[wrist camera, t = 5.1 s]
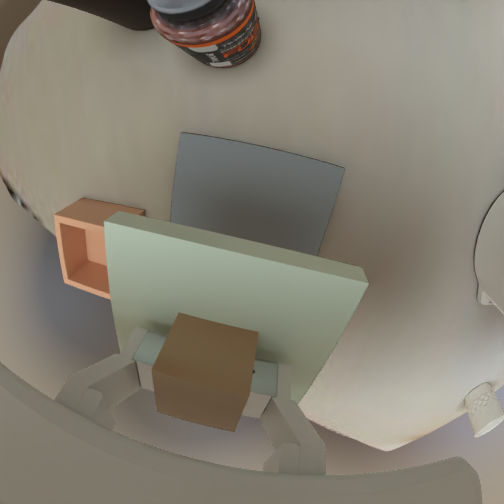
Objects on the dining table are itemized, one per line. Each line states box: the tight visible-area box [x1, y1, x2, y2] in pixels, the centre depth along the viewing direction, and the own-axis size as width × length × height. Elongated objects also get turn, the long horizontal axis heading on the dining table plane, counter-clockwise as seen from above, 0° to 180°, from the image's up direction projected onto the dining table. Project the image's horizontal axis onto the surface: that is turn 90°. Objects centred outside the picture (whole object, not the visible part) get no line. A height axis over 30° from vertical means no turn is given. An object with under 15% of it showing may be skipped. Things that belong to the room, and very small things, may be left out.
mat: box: [170, 132, 345, 256], centre depth 24 cm, size 14×12×1 cm
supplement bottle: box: [147, 0, 261, 68], centre depth 12 cm, size 6×6×11 cm
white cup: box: [464, 383, 504, 437], centre depth 32 cm, size 8×8×10 cm
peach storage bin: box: [54, 198, 145, 300], centre depth 25 cm, size 8×8×5 cm
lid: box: [104, 211, 369, 432], centre depth 10 cm, size 9×9×4 cm
